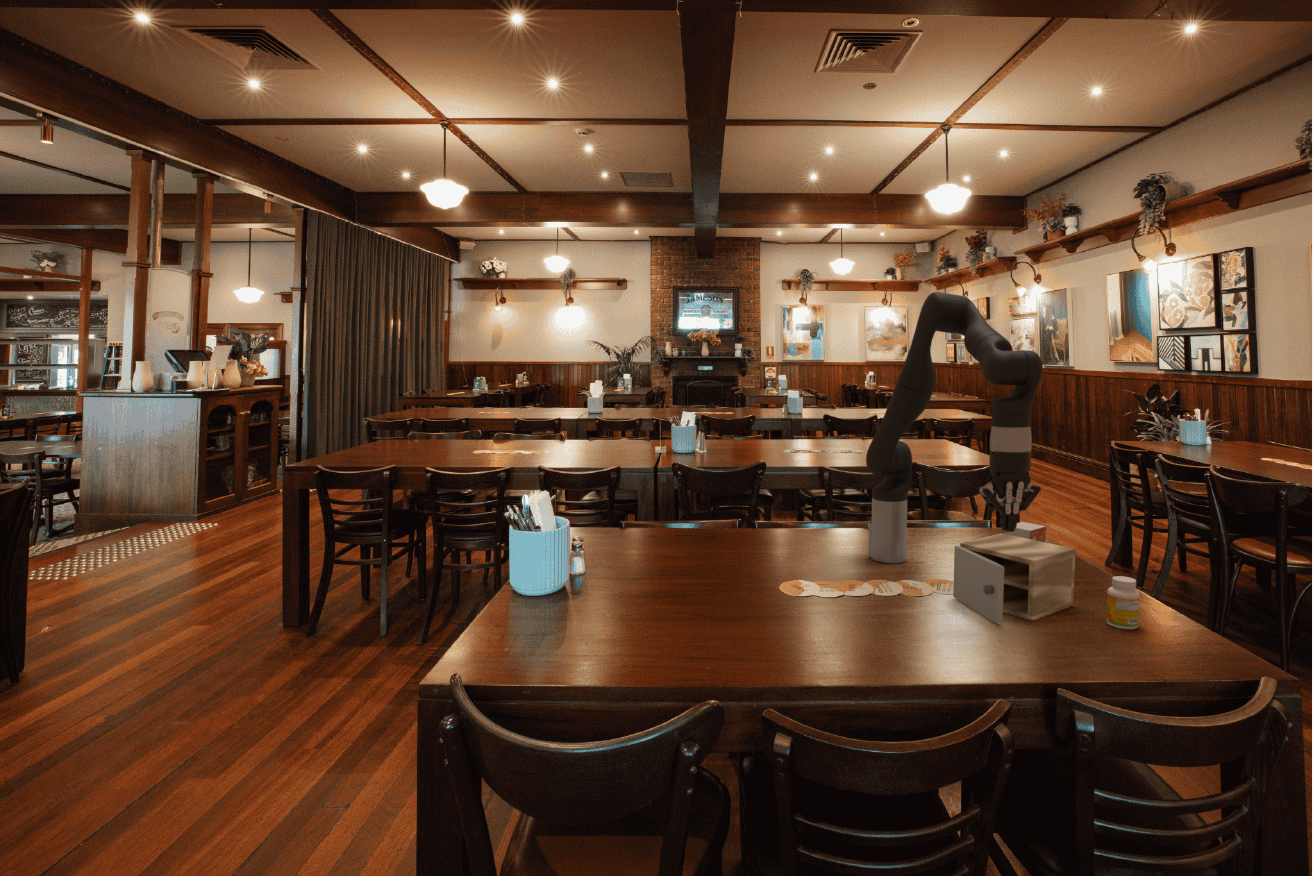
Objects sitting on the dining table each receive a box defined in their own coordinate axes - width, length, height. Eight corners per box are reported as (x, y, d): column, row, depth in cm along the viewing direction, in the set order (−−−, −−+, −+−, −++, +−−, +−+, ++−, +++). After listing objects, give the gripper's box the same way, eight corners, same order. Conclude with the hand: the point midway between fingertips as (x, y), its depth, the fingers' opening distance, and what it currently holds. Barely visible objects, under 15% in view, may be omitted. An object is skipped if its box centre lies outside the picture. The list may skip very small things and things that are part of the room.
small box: (1028, 582, 162) (1030, 530, 161) (1002, 575, 167) (1004, 525, 166) (1044, 576, 166) (1046, 525, 165) (1019, 570, 172) (1021, 521, 170)
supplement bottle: (1105, 618, 138) (1108, 573, 137) (1137, 623, 135) (1140, 577, 134) (1105, 626, 134) (1108, 580, 133) (1138, 632, 131) (1141, 584, 130)
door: (948, 596, 151) (949, 546, 150) (958, 596, 151) (959, 545, 150) (991, 623, 135) (993, 567, 134) (1002, 623, 135) (1004, 566, 134)
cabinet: (958, 598, 152) (960, 543, 150) (999, 585, 160) (1001, 533, 159) (1032, 621, 137) (1034, 560, 136) (1072, 606, 145) (1075, 548, 144)
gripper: (1028, 445, 139) (1025, 525, 141) (969, 447, 138) (967, 528, 139) (1053, 449, 132) (1050, 533, 133) (991, 451, 130) (988, 536, 132)
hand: (1007, 530), depth 136 cm, fingers closed
